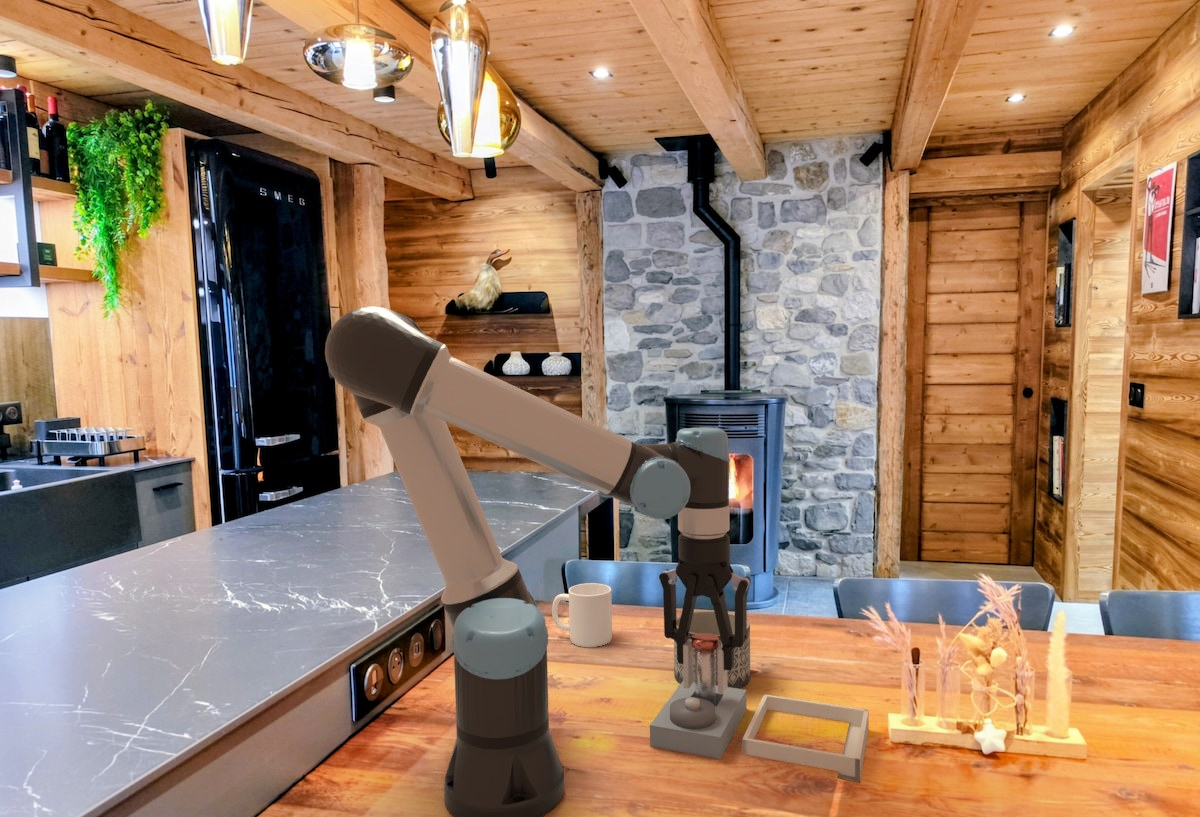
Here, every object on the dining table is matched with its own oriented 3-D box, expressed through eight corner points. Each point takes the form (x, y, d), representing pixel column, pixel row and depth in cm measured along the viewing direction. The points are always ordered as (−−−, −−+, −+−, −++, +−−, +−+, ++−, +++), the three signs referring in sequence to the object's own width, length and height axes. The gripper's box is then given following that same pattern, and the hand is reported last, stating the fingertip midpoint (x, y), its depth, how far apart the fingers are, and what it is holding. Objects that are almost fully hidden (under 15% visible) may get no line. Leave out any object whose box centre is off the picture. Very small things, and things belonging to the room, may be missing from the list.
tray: (859, 782, 101) (859, 759, 101) (742, 760, 107) (742, 739, 106) (868, 729, 115) (868, 709, 115) (764, 713, 121) (764, 694, 120)
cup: (606, 649, 148) (605, 596, 148) (546, 644, 151) (544, 593, 151) (616, 634, 156) (615, 584, 156) (559, 630, 159) (557, 581, 159)
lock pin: (715, 725, 115) (714, 644, 114) (689, 721, 116) (688, 640, 116) (722, 714, 118) (721, 635, 118) (696, 709, 120) (695, 631, 119)
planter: (660, 677, 135) (659, 617, 134) (720, 662, 141) (720, 605, 140) (702, 705, 124) (701, 640, 123) (766, 688, 130) (765, 626, 129)
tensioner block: (720, 766, 105) (720, 718, 105) (650, 752, 109) (649, 706, 109) (746, 715, 120) (746, 673, 120) (683, 705, 124) (683, 664, 124)
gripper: (768, 531, 116) (769, 686, 117) (655, 523, 122) (657, 669, 124) (758, 543, 109) (759, 707, 110) (638, 534, 116) (641, 688, 117)
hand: (705, 687), depth 117 cm, fingers open, 4 cm apart
